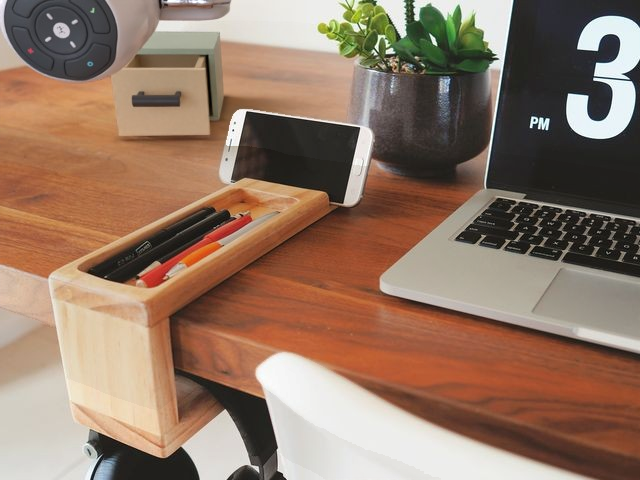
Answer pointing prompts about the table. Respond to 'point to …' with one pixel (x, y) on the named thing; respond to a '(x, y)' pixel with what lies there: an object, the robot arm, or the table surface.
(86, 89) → the table surface
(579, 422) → the table surface
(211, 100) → the cabinet
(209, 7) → the robot arm
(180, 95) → the drawer
